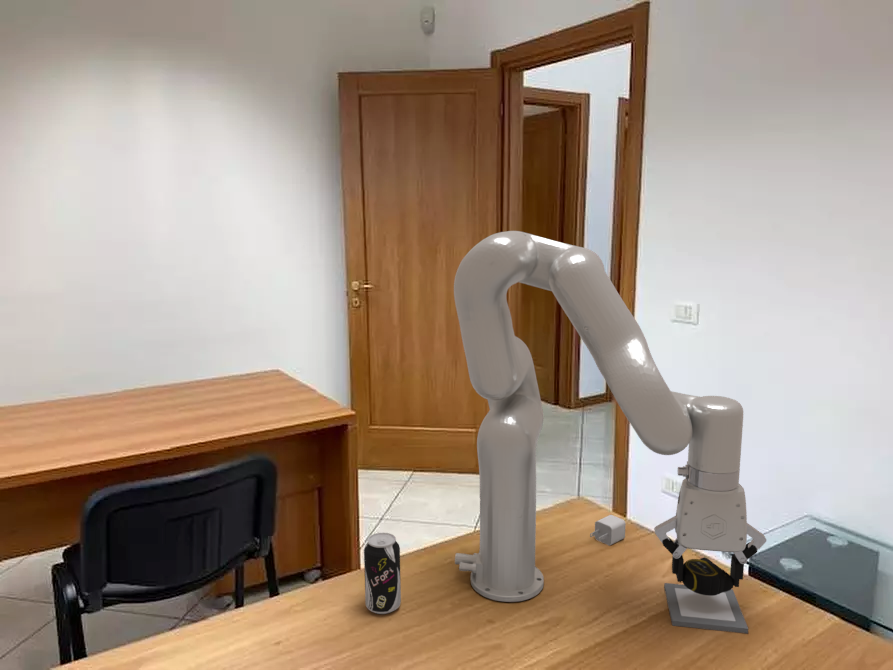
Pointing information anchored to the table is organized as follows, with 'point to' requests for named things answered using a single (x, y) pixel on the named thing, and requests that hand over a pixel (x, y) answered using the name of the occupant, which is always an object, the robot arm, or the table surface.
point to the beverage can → (382, 573)
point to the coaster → (704, 609)
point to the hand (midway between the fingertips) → (706, 579)
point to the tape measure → (706, 577)
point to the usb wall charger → (609, 530)
